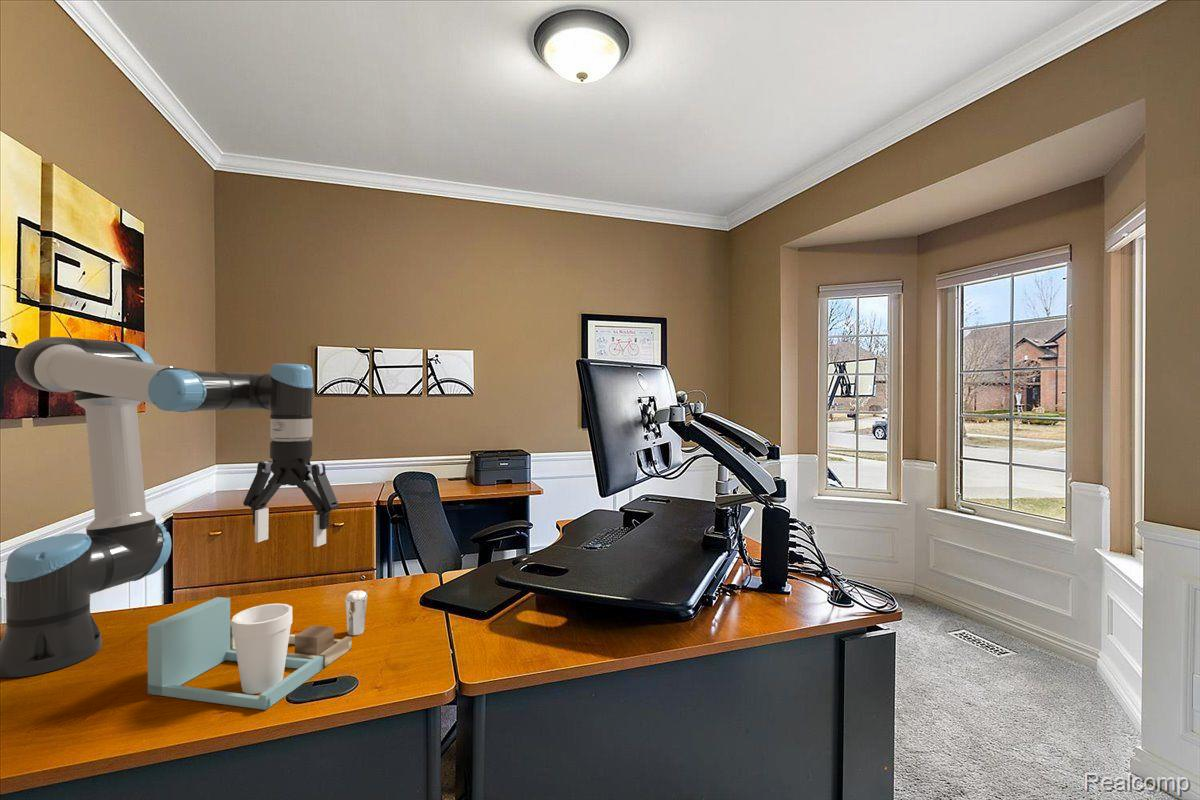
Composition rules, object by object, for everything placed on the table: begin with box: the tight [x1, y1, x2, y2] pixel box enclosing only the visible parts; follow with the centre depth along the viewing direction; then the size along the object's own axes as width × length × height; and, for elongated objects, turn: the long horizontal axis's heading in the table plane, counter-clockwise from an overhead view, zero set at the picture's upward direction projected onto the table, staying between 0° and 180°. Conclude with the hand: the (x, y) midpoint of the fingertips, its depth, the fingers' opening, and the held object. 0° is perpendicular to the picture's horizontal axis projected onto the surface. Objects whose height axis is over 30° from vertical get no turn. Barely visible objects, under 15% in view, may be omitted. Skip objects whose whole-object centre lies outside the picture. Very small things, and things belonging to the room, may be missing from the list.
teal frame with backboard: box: [147, 596, 324, 711], centre depth 99 cm, size 24×14×12 cm, turn 79°
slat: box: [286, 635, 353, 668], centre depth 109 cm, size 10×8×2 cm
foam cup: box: [231, 602, 293, 695], centre depth 98 cm, size 10×9×13 cm
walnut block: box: [294, 624, 335, 656], centre depth 109 cm, size 5×5×5 cm
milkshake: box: [344, 588, 370, 637], centre depth 119 cm, size 4×5×10 cm
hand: (290, 543), depth 110 cm, fingers open, 13 cm apart
